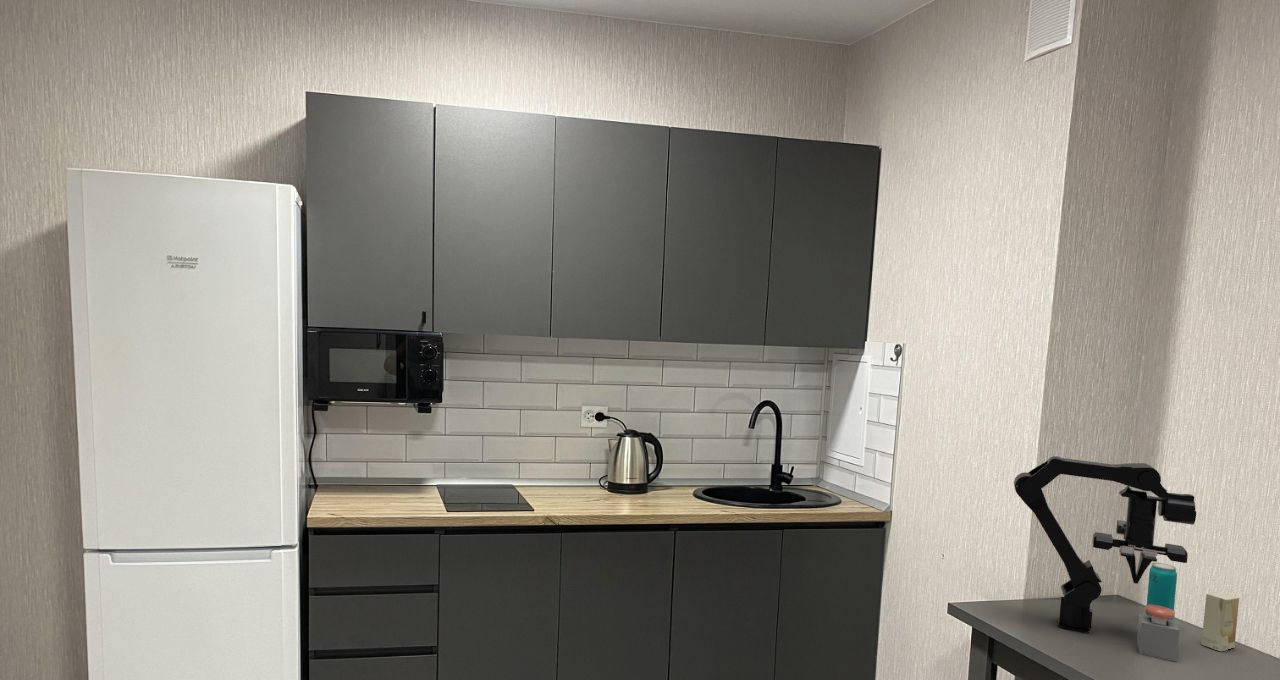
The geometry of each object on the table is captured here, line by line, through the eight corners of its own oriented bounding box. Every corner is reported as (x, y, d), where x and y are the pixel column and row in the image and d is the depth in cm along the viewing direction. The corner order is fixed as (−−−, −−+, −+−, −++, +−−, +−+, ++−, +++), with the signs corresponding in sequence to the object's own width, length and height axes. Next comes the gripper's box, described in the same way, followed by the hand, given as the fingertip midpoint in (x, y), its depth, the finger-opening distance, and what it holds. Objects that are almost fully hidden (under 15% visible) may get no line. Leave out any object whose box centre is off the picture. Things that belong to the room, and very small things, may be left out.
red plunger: (1143, 642, 180) (1146, 609, 179) (1141, 634, 184) (1144, 602, 184) (1173, 649, 177) (1176, 615, 177) (1170, 640, 182) (1173, 608, 182)
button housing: (1139, 653, 179) (1142, 622, 179) (1136, 643, 185) (1139, 613, 185) (1176, 661, 176) (1179, 630, 176) (1172, 651, 182) (1175, 620, 182)
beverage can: (1164, 622, 202) (1169, 563, 201) (1177, 630, 196) (1182, 570, 196) (1140, 619, 202) (1145, 561, 202) (1152, 628, 196) (1158, 567, 196)
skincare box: (1220, 652, 183) (1225, 599, 183) (1200, 645, 187) (1204, 593, 187) (1235, 648, 186) (1240, 597, 186) (1215, 641, 190) (1219, 590, 190)
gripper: (1183, 518, 191) (1178, 582, 191) (1094, 504, 200) (1089, 566, 200) (1190, 527, 181) (1184, 595, 182) (1096, 513, 190) (1090, 578, 190)
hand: (1135, 583), depth 189 cm, fingers closed
